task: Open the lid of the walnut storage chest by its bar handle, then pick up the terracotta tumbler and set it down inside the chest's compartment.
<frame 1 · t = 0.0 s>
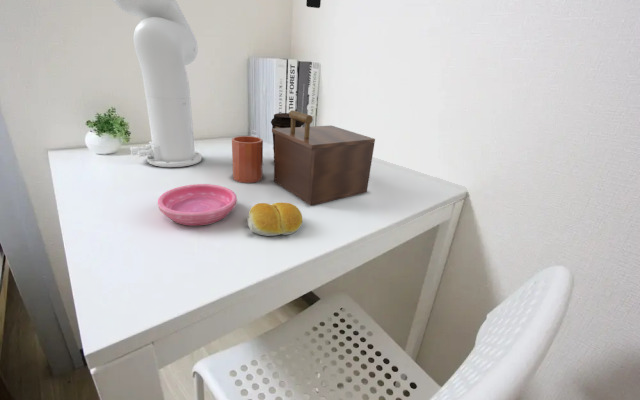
hand: (313, 3, 66), 37 cm above the table, tool pointing down, fingers open, 9 cm apart
bread roll: (274, 226, 51), on the table
saucer: (200, 214, 53), on the table
coffee cup: (286, 164, 84), on the table
lid: (323, 125, 64), point 14 cm above the table, hinge at 0.0°
chest: (319, 187, 70), on the table
tumbler: (247, 177, 71), on the table
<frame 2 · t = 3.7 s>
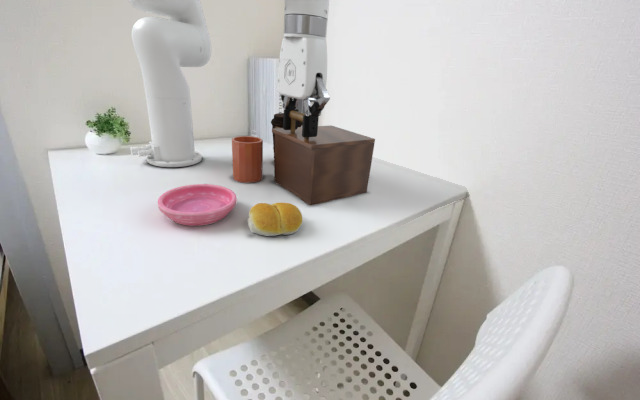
hand: (299, 132, 61), 13 cm above the table, tool pointing down, fingers closed on lid, 6 cm apart
lid: (323, 125, 64), point 14 cm above the table, hinge at 0.0°, touching gripper
everything else where it was.
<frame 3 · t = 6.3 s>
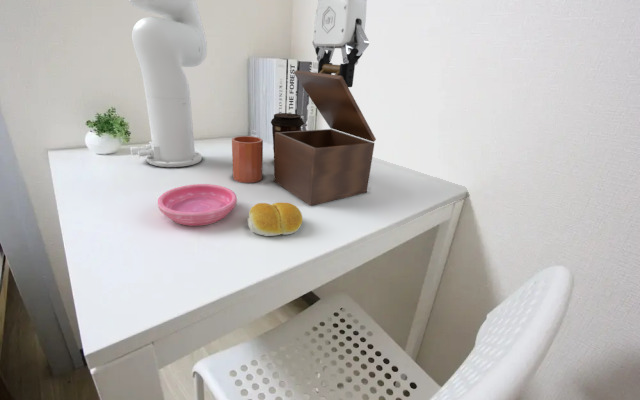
hand: (334, 84, 62), 22 cm above the table, tool pointing down, fingers closed on lid, 6 cm apart
lid: (341, 98, 64), point 19 cm above the table, hinge at 46.5°, touching gripper
everything else where it was.
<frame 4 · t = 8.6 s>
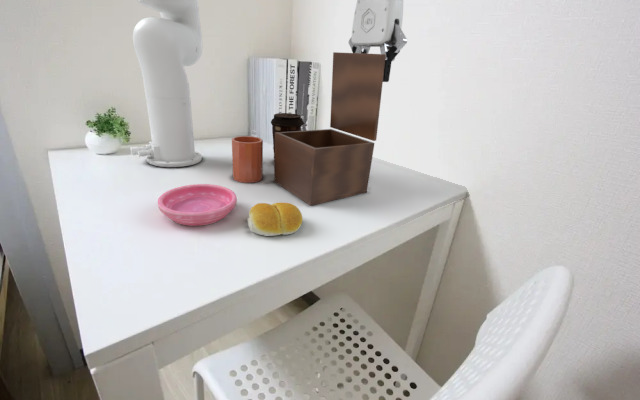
hand: (371, 79, 67), 23 cm above the table, tool pointing down, fingers closed on lid, 6 cm apart
lid: (361, 94, 67), point 20 cm above the table, hinge at 86.0°, touching gripper
everything else where it was.
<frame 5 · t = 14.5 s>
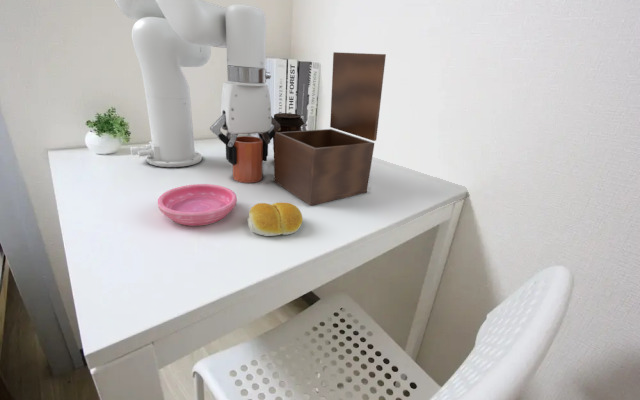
hand: (247, 160, 70), 4 cm above the table, tool pointing down, fingers closed on tumbler, 6 cm apart
lid: (361, 94, 67), point 20 cm above the table, hinge at 86.1°
tumbler: (247, 177, 71), on the table, touching gripper
everything else where it was.
when the fingers open (5 cm above the table, at t = 23.5 s): tumbler stays where it is, resting on chest.
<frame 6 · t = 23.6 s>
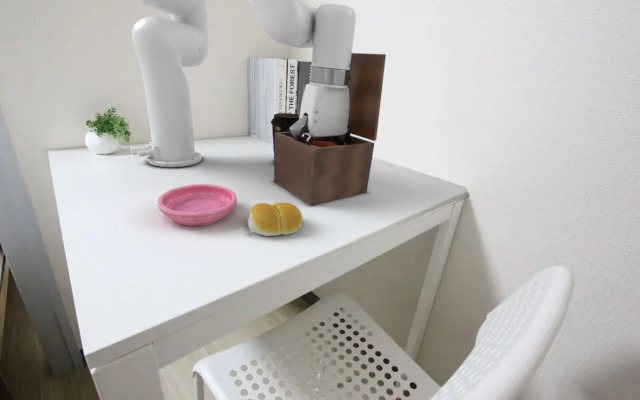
hand: (320, 163, 68), 6 cm above the table, tool pointing down, fingers open, 8 cm apart
tumbler: (320, 183, 69), point 1 cm above the table, touching chest
everything else where it was.
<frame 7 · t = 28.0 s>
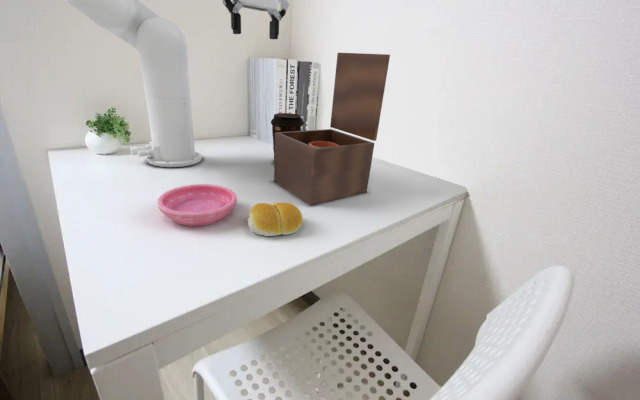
hand: (255, 36, 74), 30 cm above the table, tool pointing down, fingers open, 9 cm apart
lid: (363, 95, 67), point 20 cm above the table, hinge at 90.3°
everything else where it was.
at the end: lid at +90° (first picture: +0°); tumbler inside the target area in the chest (0.1 cm from its centre), point 0.8 cm above the chest's base; tumbler tilted 0° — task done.
